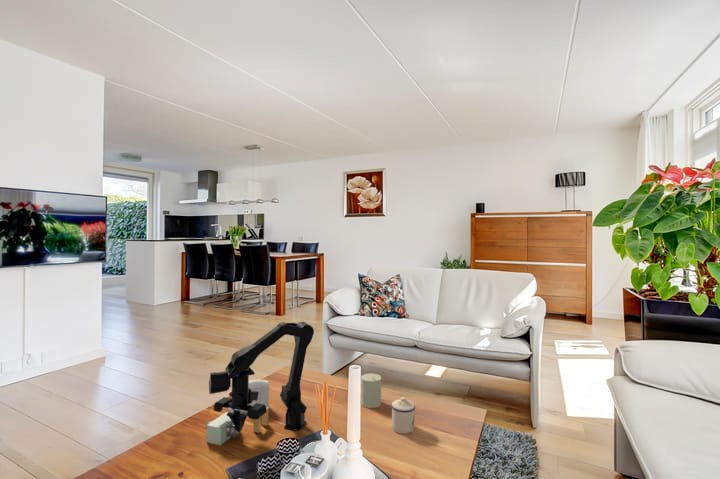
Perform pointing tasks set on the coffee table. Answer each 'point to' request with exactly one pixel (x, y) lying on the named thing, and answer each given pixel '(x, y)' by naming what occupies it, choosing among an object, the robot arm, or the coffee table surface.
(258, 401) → the photo printer
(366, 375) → the can
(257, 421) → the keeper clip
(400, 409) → the teacup with lid
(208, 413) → the coffee table surface
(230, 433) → the pin
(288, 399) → the robot arm
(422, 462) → the coffee table surface
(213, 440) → the block
